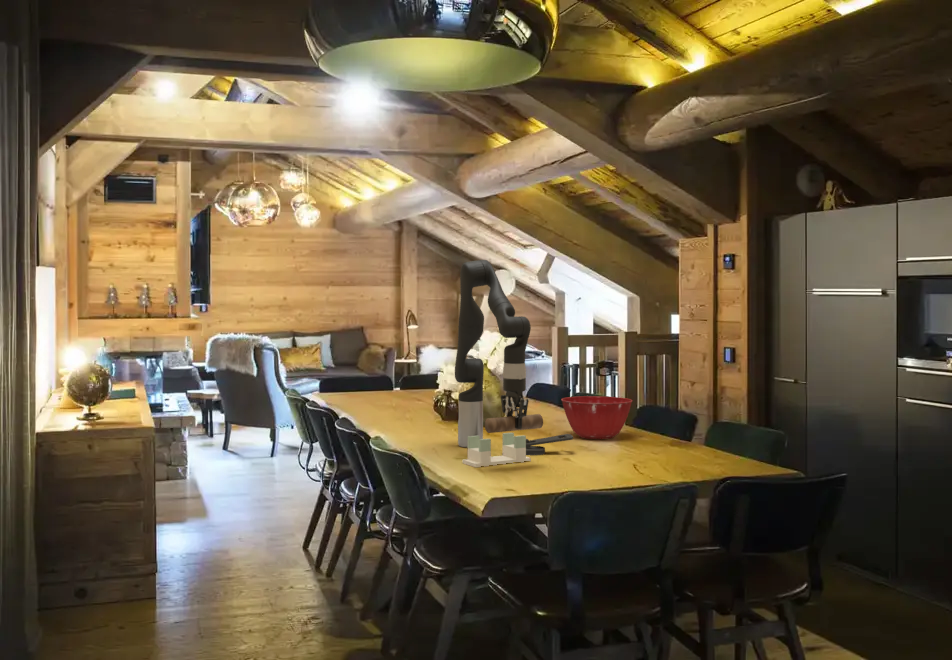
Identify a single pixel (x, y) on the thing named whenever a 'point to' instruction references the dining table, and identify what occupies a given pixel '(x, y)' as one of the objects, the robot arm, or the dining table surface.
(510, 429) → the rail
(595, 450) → the dining table surface
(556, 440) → the zipper pull
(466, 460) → the white cradle stand
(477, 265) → the robot arm
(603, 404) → the mixing bowl
